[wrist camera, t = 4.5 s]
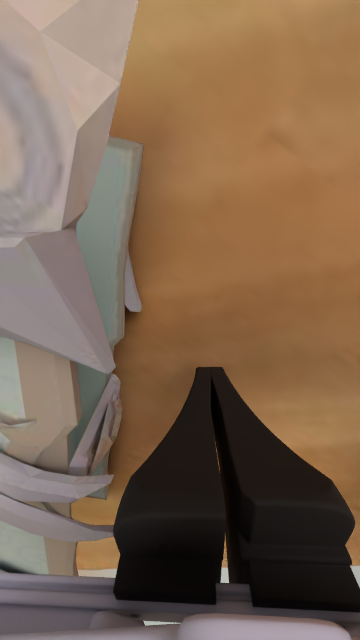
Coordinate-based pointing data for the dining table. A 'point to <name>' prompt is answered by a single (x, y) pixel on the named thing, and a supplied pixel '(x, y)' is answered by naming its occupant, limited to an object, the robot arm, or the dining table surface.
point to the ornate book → (61, 270)
